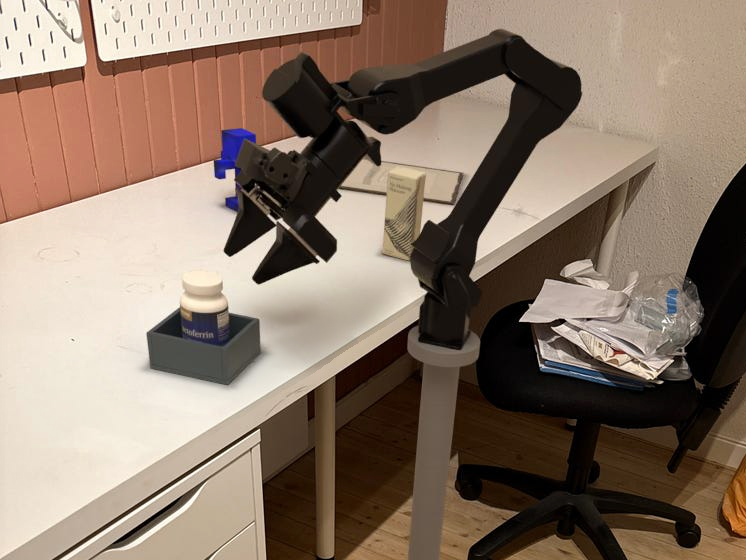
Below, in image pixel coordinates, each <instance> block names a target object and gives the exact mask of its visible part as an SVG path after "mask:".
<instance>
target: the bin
mask: <svg viewBox="0 0 746 560" xmlns="http://www.w3.org/2000/svg"><path fill="white" fill-rule="evenodd" d="M260 323H261V322H260V318H257V317H252V316H247V315H243V314H238V313H233V312H229V330H230V341H229V342H228V343H227V344H226V345H225V346H224V347H221V346H217V345H212V344H207V343H202V342H198V341H193V340H188V339H184V338H183V334H182V323H181V311H180V306H179V307H178V308H177V309H175V310H174V311H173V312H171V313H170V314H169V315H168V316H166V317H165V318H163V320H161V321H160V322H158V323H157V324H156V325H154V326H153V327H152V328H151V329H149V330H148V331H147V332H146V342H147V350H148V359H149V367H150V369H152V370H157V371H161V372H166V373H170V374H174V375H175V374H176V375H180V376H185V377H189V378H194V379H198V380H203V381H208V382H213V383H217V384H221V385H227V386H228V385H230V384H231V383H232V382H233V381H234V379H236V378H237V377H238V376H239V375H240V374H241V373H242V372H243V371H244V370H245V369H246V368H247V367H248V366H249V365H250V364H251V363H252V362H253V361H254V360H255V359H256V358H258V356H259V355H260V354H261V327H260V325H261V324H260Z"/></svg>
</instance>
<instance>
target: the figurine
mask: <svg viewBox="0 0 746 560" xmlns="http://www.w3.org/2000/svg"><path fill="white" fill-rule="evenodd" d="M220 132H221V149H222V150H220V159H213V169H214V170H213V173H214V174H213V175H214V178H216V179H217V180H226V179H227V173H226V171H229V170H230V171H231V170H234V179H235V178H236V176H237V175H238V174H239V173H240V171H241V170H242V169H241V168H240V167H239V168H237V167H236V166H235V163H236V160H237V157H238V154H239V151H240V149H241V146H242V143H243V140H244V139H247V140H249V141H251V142H253V143H255V144H257V135H256V134H255V133H253V132H252V131H249V130H247V129H245V128H242V127H240V128H229V129H221V130H220ZM234 184H235V187H238V188H239V189H240V190H241V189H242V188H241V187H240V186H239V185H238V184H237V183H236V182H235V181H234ZM224 199H225V200H224V206H225V207H227V208H229V209H230V210H233V211H234V212H236V213H238V209H239V204H238V197H237V193H236V192H235V196H227V197H224Z"/></svg>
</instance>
